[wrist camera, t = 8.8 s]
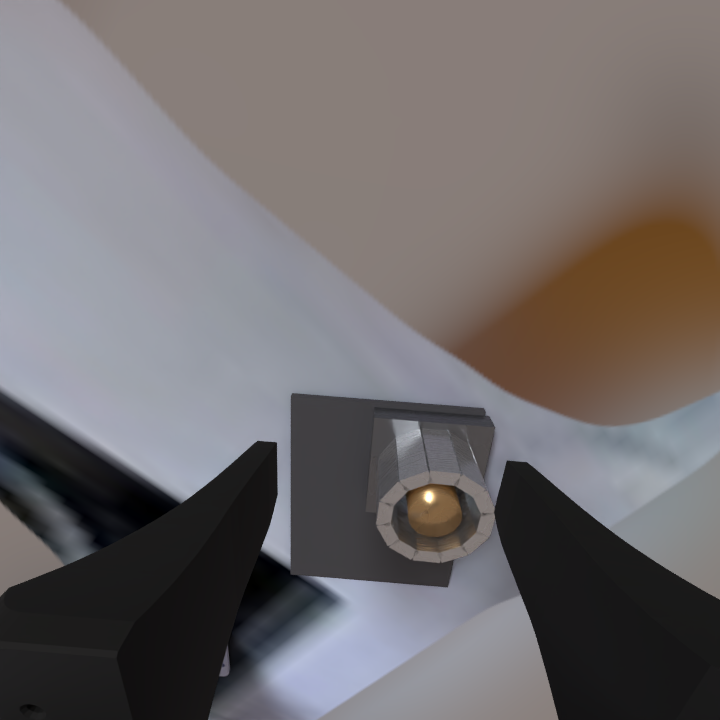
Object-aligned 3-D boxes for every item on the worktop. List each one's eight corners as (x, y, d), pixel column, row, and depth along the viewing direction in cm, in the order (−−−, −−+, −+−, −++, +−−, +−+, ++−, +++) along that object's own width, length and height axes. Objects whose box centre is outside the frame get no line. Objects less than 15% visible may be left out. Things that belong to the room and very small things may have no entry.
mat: (446, 582, 28) (447, 587, 27) (291, 569, 28) (290, 574, 27) (483, 408, 22) (485, 411, 22) (292, 393, 22) (290, 396, 22)
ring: (465, 514, 23) (480, 567, 20) (372, 505, 23) (371, 556, 20) (485, 434, 21) (506, 478, 18) (382, 424, 21) (384, 466, 18)
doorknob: (469, 506, 24) (488, 570, 20) (365, 497, 24) (363, 560, 20) (489, 415, 22) (516, 467, 18) (374, 406, 22) (374, 455, 18)
